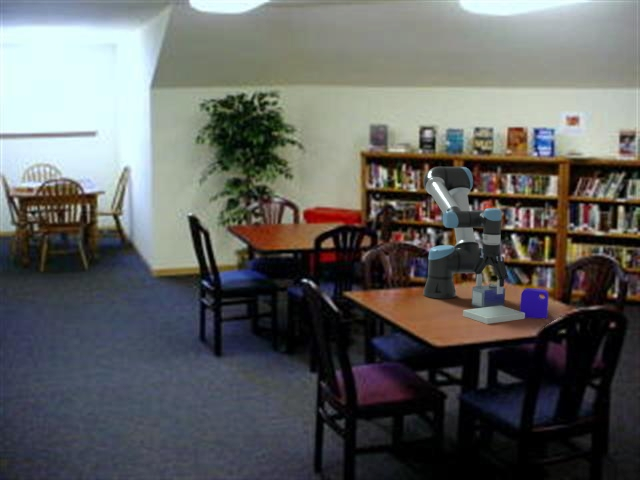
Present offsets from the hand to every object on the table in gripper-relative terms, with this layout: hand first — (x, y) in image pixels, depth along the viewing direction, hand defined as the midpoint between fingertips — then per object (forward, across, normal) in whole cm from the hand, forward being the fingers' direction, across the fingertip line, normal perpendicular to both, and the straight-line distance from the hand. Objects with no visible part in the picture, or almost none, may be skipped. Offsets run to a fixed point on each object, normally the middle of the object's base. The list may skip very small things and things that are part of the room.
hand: (489, 291), depth 378 cm
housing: (+7, -1, 0) cm, 7 cm away
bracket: (+8, +18, +11) cm, 22 cm away
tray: (+8, +16, -11) cm, 20 cm away
